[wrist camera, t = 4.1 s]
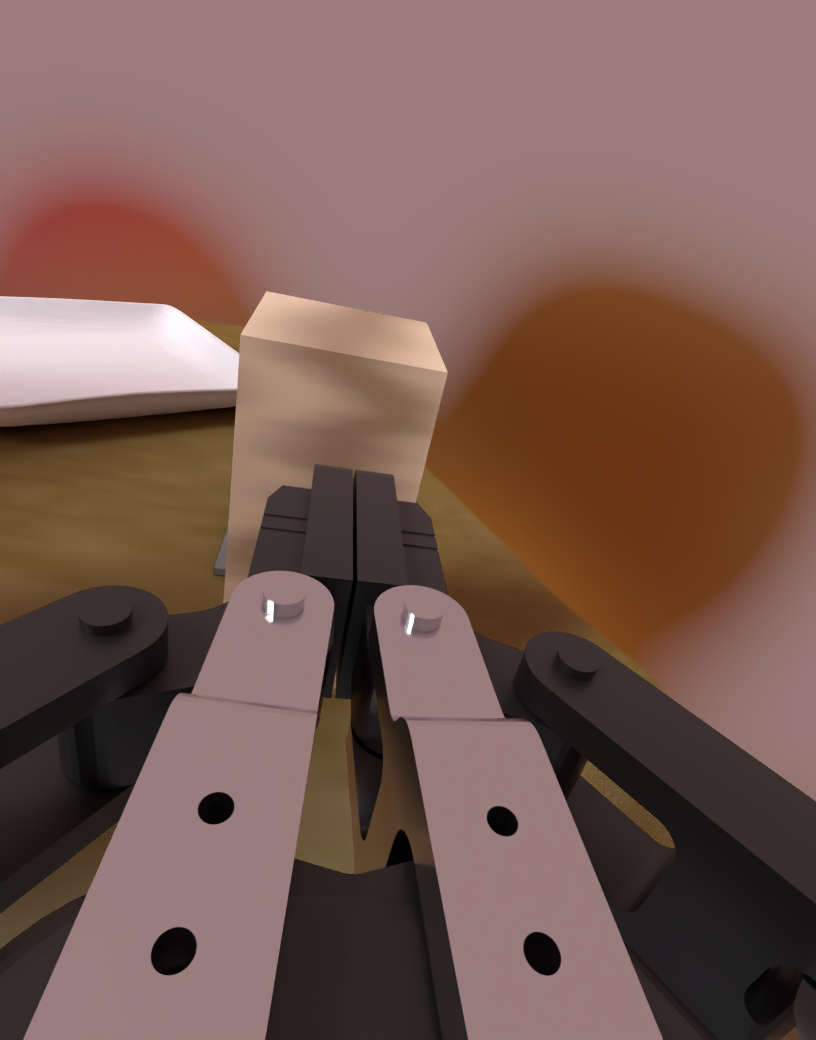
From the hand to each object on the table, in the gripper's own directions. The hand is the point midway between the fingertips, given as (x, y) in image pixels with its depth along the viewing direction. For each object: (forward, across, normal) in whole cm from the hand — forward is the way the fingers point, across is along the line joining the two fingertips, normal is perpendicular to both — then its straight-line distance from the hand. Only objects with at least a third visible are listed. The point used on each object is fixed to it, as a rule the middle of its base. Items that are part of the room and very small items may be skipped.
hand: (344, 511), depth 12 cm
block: (+10, 0, +13) cm, 17 cm away
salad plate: (+37, +18, +13) cm, 44 cm away
